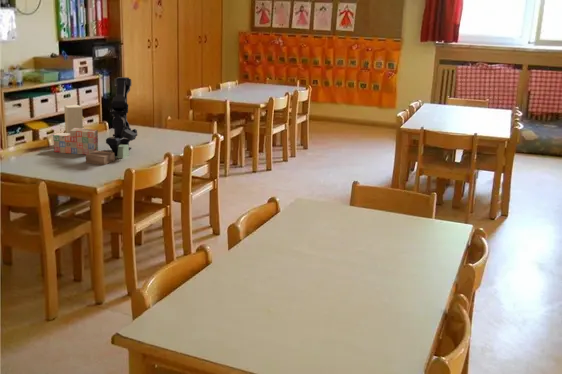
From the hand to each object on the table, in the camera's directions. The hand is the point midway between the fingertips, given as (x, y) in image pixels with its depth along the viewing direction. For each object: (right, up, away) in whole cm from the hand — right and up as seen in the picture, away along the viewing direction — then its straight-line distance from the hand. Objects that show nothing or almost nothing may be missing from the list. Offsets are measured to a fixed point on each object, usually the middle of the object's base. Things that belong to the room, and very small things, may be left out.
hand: (120, 154), depth 311 cm
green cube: (0, -1, 0) cm, 1 cm away
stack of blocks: (-24, +1, +4) cm, 25 cm away
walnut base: (-7, -4, -11) cm, 14 cm away
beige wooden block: (-31, +7, +20) cm, 37 cm away
